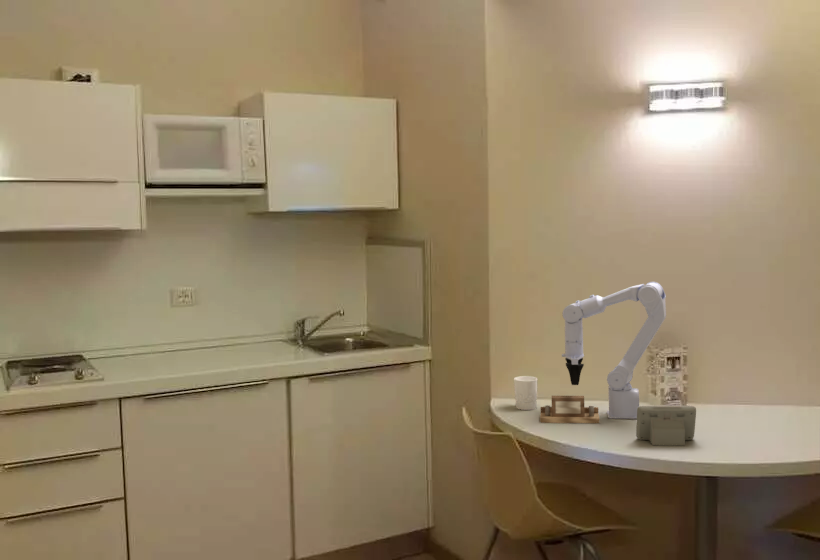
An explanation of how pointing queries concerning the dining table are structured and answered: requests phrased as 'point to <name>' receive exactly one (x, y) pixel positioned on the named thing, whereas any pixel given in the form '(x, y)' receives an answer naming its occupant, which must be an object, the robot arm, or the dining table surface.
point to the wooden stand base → (590, 417)
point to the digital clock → (666, 424)
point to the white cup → (525, 392)
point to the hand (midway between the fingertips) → (574, 382)
